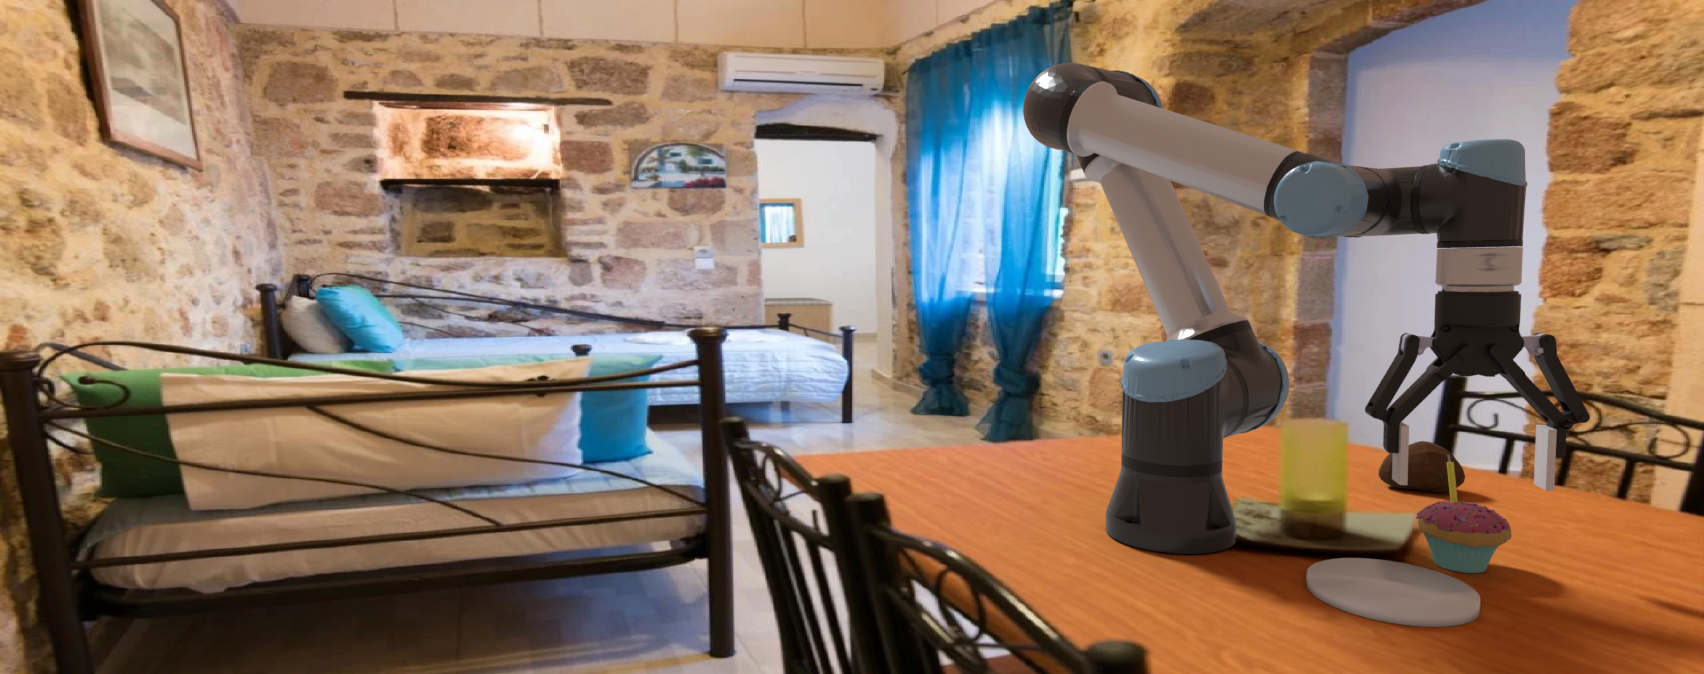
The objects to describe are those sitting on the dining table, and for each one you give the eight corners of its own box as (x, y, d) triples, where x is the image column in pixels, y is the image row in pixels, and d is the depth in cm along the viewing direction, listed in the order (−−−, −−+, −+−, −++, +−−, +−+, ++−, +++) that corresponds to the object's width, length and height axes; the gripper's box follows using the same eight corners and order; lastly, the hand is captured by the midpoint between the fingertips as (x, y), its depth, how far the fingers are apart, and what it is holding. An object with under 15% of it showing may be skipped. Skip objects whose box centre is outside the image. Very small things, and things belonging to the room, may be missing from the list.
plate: (1325, 617, 86) (1325, 605, 85) (1292, 563, 100) (1293, 552, 100) (1507, 633, 82) (1508, 621, 81) (1446, 574, 96) (1447, 563, 96)
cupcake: (1397, 559, 101) (1402, 454, 100) (1447, 548, 104) (1453, 446, 103) (1476, 585, 93) (1483, 472, 92) (1527, 572, 96) (1534, 462, 95)
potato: (1372, 480, 134) (1374, 434, 133) (1454, 485, 130) (1456, 438, 130) (1383, 493, 127) (1386, 444, 126) (1469, 498, 124) (1472, 448, 123)
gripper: (1356, 292, 95) (1351, 488, 97) (1638, 288, 88) (1627, 499, 90) (1338, 289, 102) (1334, 471, 104) (1598, 285, 96) (1588, 480, 98)
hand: (1470, 485), depth 97 cm, fingers open, 13 cm apart
